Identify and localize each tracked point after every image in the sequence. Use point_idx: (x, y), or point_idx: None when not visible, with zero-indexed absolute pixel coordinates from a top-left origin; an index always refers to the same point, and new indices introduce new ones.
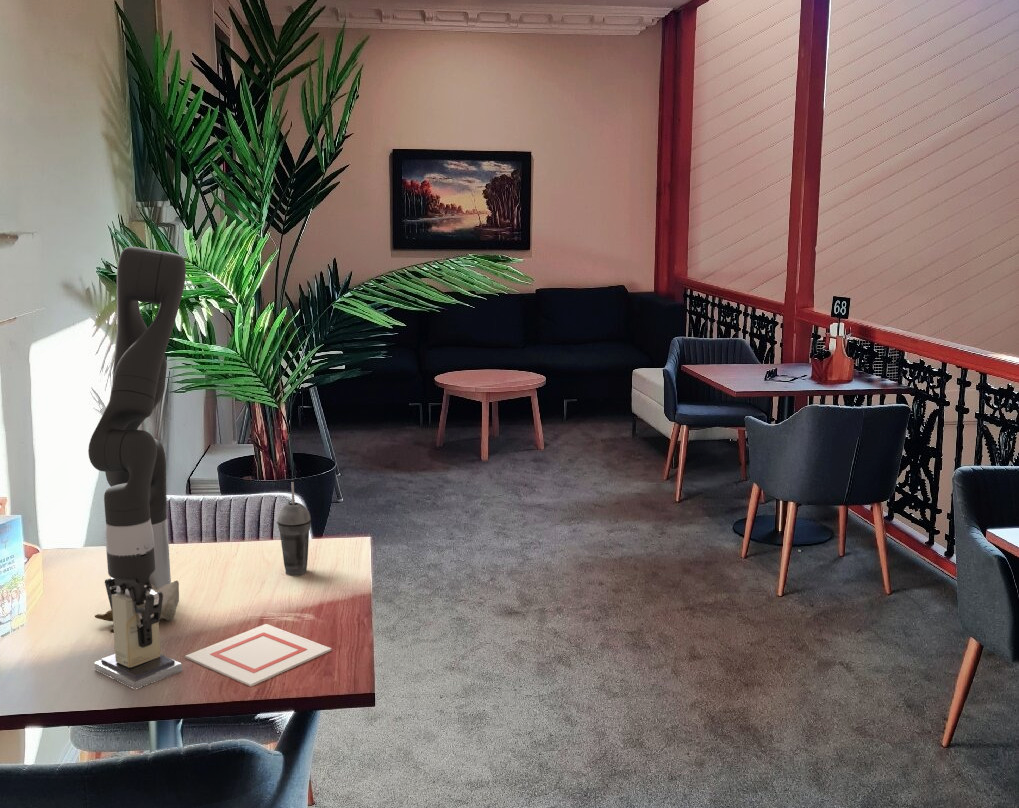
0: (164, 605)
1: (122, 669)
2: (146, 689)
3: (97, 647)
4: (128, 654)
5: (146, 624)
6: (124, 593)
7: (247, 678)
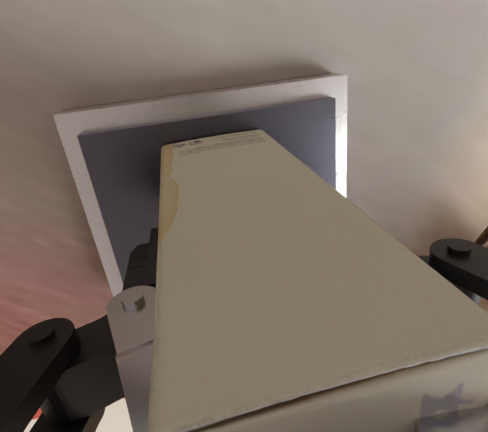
0: None
1: (179, 120)
2: (44, 145)
3: (475, 159)
4: (162, 161)
5: (23, 338)
6: None
7: None
